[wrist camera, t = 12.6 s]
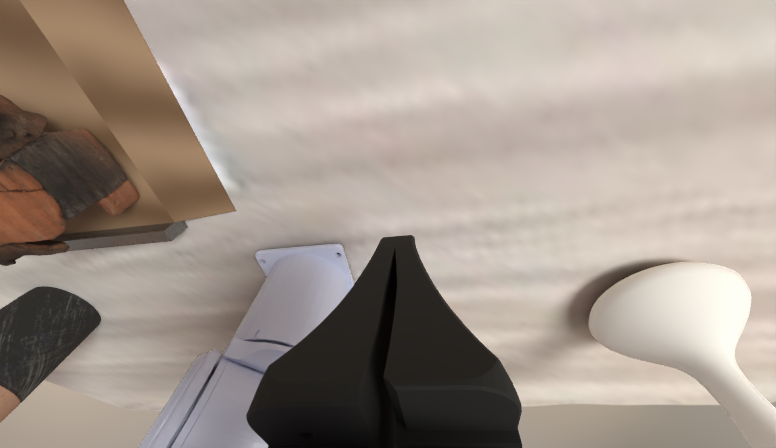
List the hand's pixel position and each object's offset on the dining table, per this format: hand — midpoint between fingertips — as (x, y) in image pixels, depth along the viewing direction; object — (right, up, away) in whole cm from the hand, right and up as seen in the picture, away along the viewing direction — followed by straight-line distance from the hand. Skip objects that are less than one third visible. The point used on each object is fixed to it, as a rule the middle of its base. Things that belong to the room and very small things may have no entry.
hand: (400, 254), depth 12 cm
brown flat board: (-24, +8, +8) cm, 26 cm away
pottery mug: (-24, +6, +8) cm, 26 cm away
